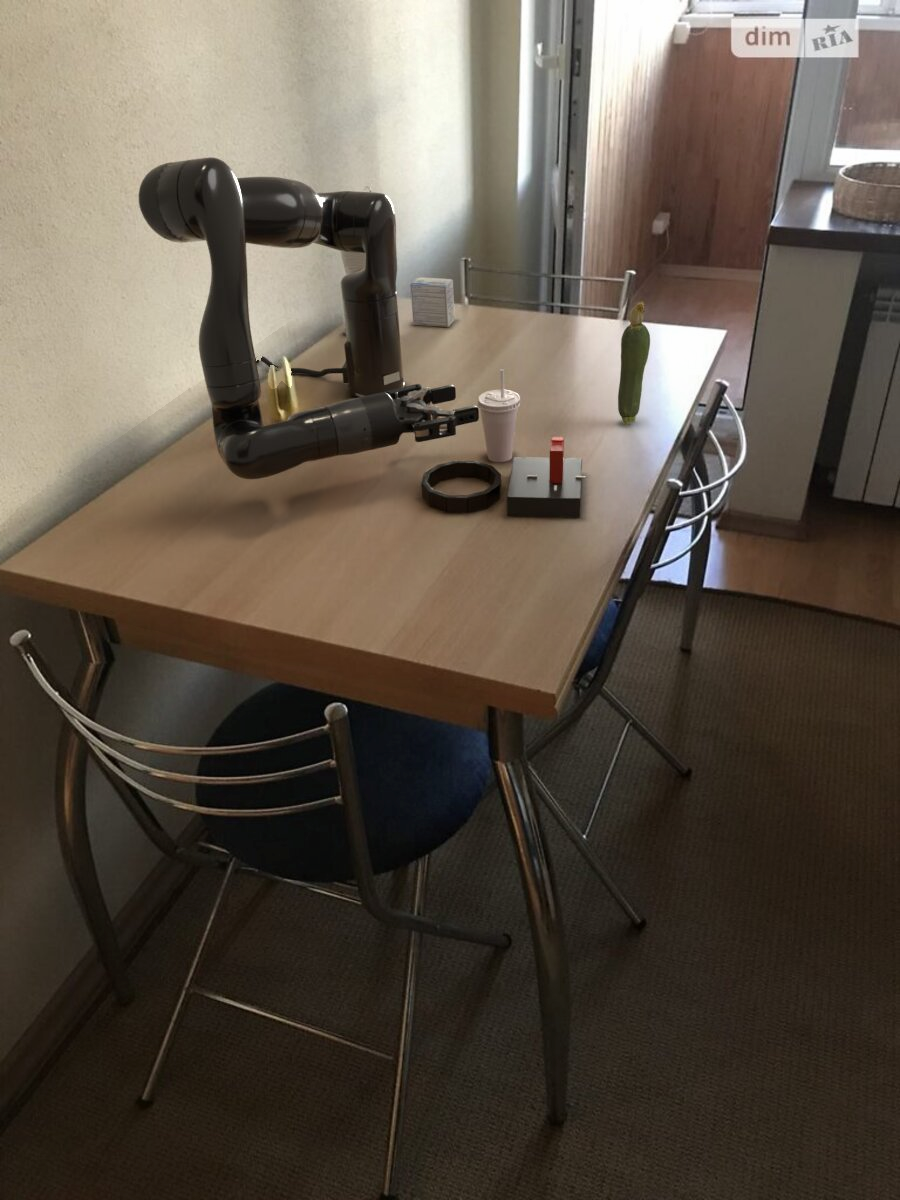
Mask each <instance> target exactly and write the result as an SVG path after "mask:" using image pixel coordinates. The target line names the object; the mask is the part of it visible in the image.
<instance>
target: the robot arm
mask: <svg viewBox="0 0 900 1200" xmlns="http://www.w3.org/2000/svg"><path fill="white" fill-rule="evenodd" d="M138 207H139V210H140V213H141V215H142V217H143V219H144V220H145V222H146V224H147V225H148V226H149V227H150V228H151V229H152V230H153V232H155V233H156V234H157V235H158V236H160V237H161V238H163V239H164V240H167V241H170V242H172V243H173V242H174V243H178V244H180V243H181V244H183V243H195V242H206V245H207V250H208V253H209V258H210V268H211V269H210V270H211V271H210V272H211V275H210V284H209V292H208V296H207V301H206V305H205V308H204V311H203V315H202V318H201V323H200V326H199V332H198V351H199V359H200V364H201V368H202V373H203V377H204V382H205V386H206V391H207V394H208V398H209V401H210V406H211V417H212V426H213V433H214V439H215V445H216V449H217V452H218V455H219V457H220V459H221V460H222V461H223V463H224V465H225V467H227V469H228V470H229V471H230V472H231V473H232V474H233V475H235V476H236V477H238V478H241V479H243V480H259V479H260V480H261V479H264V478H269V477H273V476H275V475H276V476H277V475H278V474H281V473H283V472H286V471H288V470H291V469H293V468H296V467H299V466H300V465H302V464H305V463H308V462H315V461H320V460H324V459H329V458H333V457H338V456H339V457H340V456H348V455H356V454H360V453H363V452H369V451H374V450H378V449H381V448H382V449H383V448H387V447H391V446H395V445H398V443H399V441H400V438H401V436H402V435H403V434H406V433H407V434H411V433H412V434H414V441H415V442H416V443H422V442H429V441H432V440H433V441H434V440H439V439H442V438H448V437H452V436H456V434H457V427H458V426H463V425H467V424H472V423H476V422H478V421H479V420H480V413H479V412H480V410H479V409H480V408H479V407H478V406H476V405H469V406H465V407H461V408H455V409H452V410H447V409H440V408H439V407H438V406H436V405H437V404H442V403H447V402H451V401H454V400H456V398H457V392H456V391H457V390H456V387H455V386H454V385H453V384H448V385H447V384H446V385H443V386H438V387H433V388H430V387H427V386H426V387H422V384H420V383H415V384H411V385H406V386H405V379H404V370H403V369H404V367H403V357H402V356H403V355H402V343H401V331H400V320H399V318H400V317H399V311H398V310H399V308H398V296H397V278H398V277H397V276H398V256H397V255H398V254H397V251H398V250H397V222H396V221H397V220H396V213H395V208H394V205H393V203H392V201H391V199H390V197H389V196H388V195H387V194H385V193H382V192H373V191H372V192H370V191H365V192H363V191H357V190H355V191H354V190H353V191H351V190H341V191H340V190H339V191H331V192H317V191H316V190H315V189H314V188H313V187H312V186H311V185H308V184H306V183H304V182H302V181H299V180H295V179H291V178H284V177H279V176H246V177H245V176H244V177H236V174H235V172H234V171H233V170H232V168H231V167H230V166H229V165H228V164H227V163H226V162H225V161H224V160H222V159H220V158H217V157H213V156H212V157H209V156H208V157H200V158H192V159H185V160H178V161H170V162H165V163H162V164H159V165H156V166H155V167H153V168H152V169H150V170H149V172H148V173H146V174H145V176H144V177H143V179H142V180H141V183H140V186H139V189H138ZM247 244H250V245H256V246H264V247H270V248H279V249H303V248H306V247H308V246H311V245H313V244H316V245H319V246H324V247H326V248H329V249H333V250H336V251H340V252H341V251H344V252H354V253H365V257H366V260H365V267H364V268H362V269H359V270H356V271H353V272H351V273H348V274H347V275H346V274H345V275H344V276H343V277H342V278H341V280H340V292H341V301H342V302H341V303H342V310H343V319H344V327H345V331H346V335H345V336H346V340H345V342H344V344H343V348H344V349H343V350H344V356H345V357H344V358H345V362H344V363H343V365H342V367H330V368H324V369H322V370H312V369H309V368H303V367H290V368H291V371H292V373H291V374H302V375H307V376H312V377H324V376H327V375H331V374H332V375H333V374H342V381H343V384H348V391H349V396H350V397H354V398H349V399H345V400H340V401H337V402H334V403H332V404H331V403H330V404H329V405H325V406H320V407H315V408H310V409H306V410H301V411H298V412H295V413H292V414H290V415H289V416H288V417H287V418H286V419H285V420H283V421H282V420H281V421H278V422H275V423H271V424H266V425H264V421H263V416H262V411H261V406H260V398H261V395H262V388H261V387H262V385H261V380H260V374H259V368H258V364H259V363H260V362H261V363H263V364H265V365H266V366H267V367H268V368H270V365H274V366H275V367H277V368H278V367H279V366H278V365H276V364H274V363H273V362H272V361H270V360H269V359H268V358H267V357H265V356H264V355H261V356H262V358H261V361H259V360H257V361H256V358H257V357H256V353H255V349H254V343H253V342H254V341H253V337H252V330H251V322H250V308H249V289H248V288H249V286H248V285H249V281H248V258H247ZM431 404H432V405H431Z"/></svg>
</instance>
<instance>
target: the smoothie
mask: <svg viewBox="0 0 900 1200" xmlns="http://www.w3.org/2000/svg"><path fill="white" fill-rule="evenodd" d="M499 372H500V373H499V375H500V377H499V378H500V380H499V381H500V389H492V390H491V389H490V390H487V391H485V392H483V393H481V394H480V395H479V396H478V397H477V408H478V409H480V410H479V411H480V416H481V422H482V428H483V434H484V440H485V447H486V453H487V454H486V455H487V458H488V460H489V461H490V462H494V463H505V462H508V461H511V459H512V458H513V451H514V444H515V436H516V435H515V434H516V427H517V421H518V420H517V419H518V412H519V408H520V406H521V396H520V394H519V393H517V392H515V391H513V390H509V389H505V369H503V368H502V369H501V368H500V369H499Z"/></svg>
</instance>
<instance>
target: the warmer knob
mask: <svg viewBox="0 0 900 1200" xmlns="http://www.w3.org/2000/svg"><path fill="white" fill-rule="evenodd" d="M549 444H550V445H549V458H550V472H549V483H562V481H563V461H564V458H565V457H564V455H565V454H564V453H565V438H564V437H562V436H551V438H550V443H549Z"/></svg>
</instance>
